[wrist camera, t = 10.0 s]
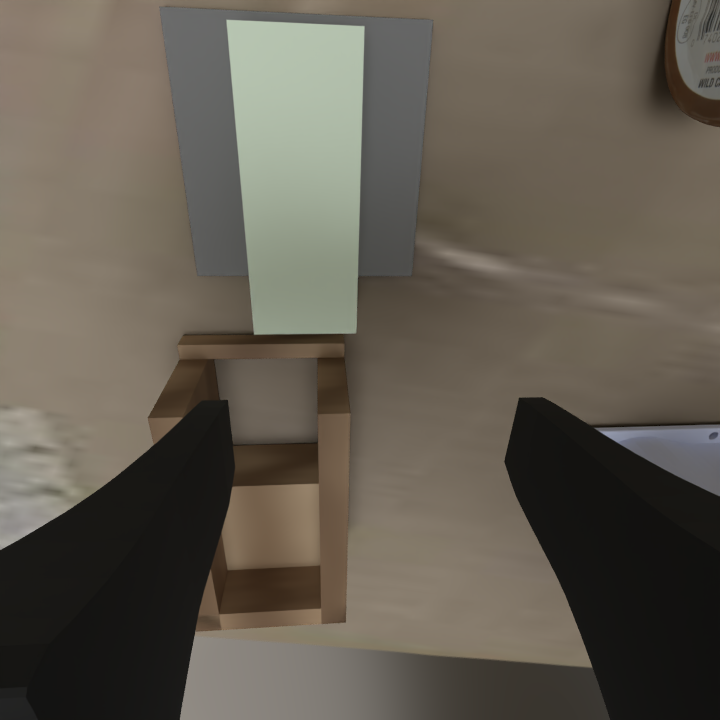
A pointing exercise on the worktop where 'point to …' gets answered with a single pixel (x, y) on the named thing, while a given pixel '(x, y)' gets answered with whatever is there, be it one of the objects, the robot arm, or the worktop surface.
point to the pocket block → (274, 492)
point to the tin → (694, 58)
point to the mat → (378, 145)
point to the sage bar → (299, 170)
